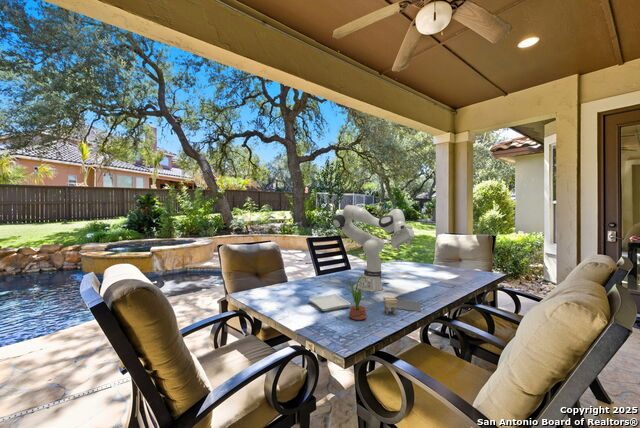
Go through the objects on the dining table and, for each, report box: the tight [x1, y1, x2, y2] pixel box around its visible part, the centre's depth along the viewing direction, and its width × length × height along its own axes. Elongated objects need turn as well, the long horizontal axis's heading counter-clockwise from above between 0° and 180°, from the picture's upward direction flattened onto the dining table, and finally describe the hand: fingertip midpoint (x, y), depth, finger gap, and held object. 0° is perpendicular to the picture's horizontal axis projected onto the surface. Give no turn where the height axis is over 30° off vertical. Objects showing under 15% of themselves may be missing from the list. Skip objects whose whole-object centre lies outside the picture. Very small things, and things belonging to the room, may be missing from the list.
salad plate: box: [308, 293, 352, 312], centre depth 183 cm, size 21×21×3 cm
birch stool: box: [383, 295, 398, 316], centre depth 171 cm, size 6×6×9 cm
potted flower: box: [348, 275, 370, 321], centre depth 163 cm, size 12×10×25 cm
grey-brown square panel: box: [395, 299, 422, 313], centre depth 183 cm, size 16×16×1 cm
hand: (404, 249), depth 189 cm, fingers open, 8 cm apart
